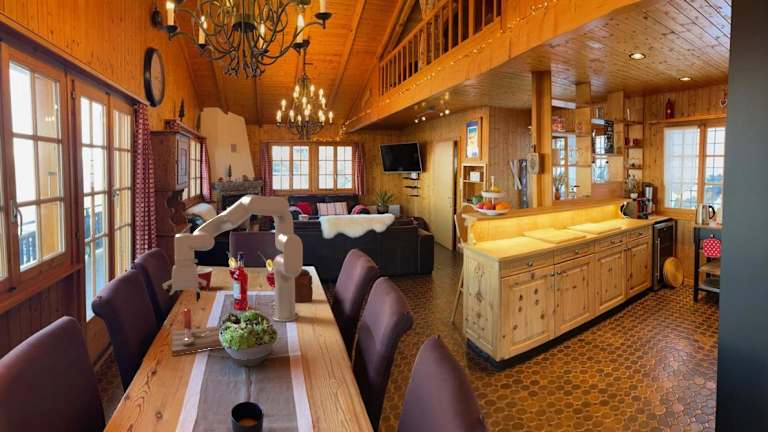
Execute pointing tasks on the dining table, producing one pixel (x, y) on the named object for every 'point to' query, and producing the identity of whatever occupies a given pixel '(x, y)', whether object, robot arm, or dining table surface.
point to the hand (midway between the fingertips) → (185, 302)
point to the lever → (187, 327)
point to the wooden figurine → (303, 287)
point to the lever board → (196, 340)
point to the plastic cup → (205, 277)
